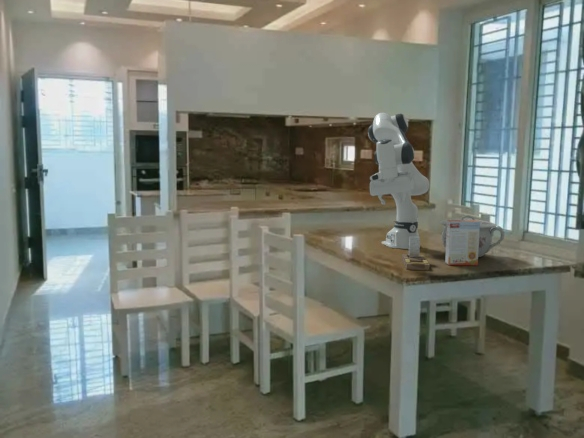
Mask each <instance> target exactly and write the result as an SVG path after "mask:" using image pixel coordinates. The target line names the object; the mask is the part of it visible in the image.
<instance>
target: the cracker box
mask: <svg viewBox="0 0 584 438" xmlns="http://www.w3.org/2000/svg"><path fill="white" fill-rule="evenodd" d="M446 220H447V219H446ZM477 220H478V219H477ZM477 220H447V231H446V248H445V260H444V263H445V264H446V265H448V266H478V265H479V257H478V249H479V229H480V221H477Z"/></svg>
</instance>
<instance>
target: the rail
mask: <svg viewBox="0 0 584 438" xmlns="http://www.w3.org/2000/svg"><path fill="white" fill-rule="evenodd" d="M408 254H409V253H401V261H402V263H403V265H404V267H405V270H408V271H409V270H410V271H411V270H413V271H415V270H416V271H430V267H431V266H430V265H431V264H430V263H429V262H428V260H427V259H426V257H425V255H424V254H420V253H419V258H408Z"/></svg>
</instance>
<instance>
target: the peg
mask: <svg viewBox="0 0 584 438" xmlns="http://www.w3.org/2000/svg"><path fill="white" fill-rule="evenodd" d="M420 247H421V237H420V236H409V249H408V253H407V254H408V258H419V254H420Z"/></svg>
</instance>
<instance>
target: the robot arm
mask: <svg viewBox="0 0 584 438" xmlns="http://www.w3.org/2000/svg"><path fill="white" fill-rule="evenodd" d="M408 129H409V121H408V118H407V117H406V116H405V115H404V114H403V113H397V114H395V115H390V114H389V113H387V112H379V113H377V114H376V115H375V116H374V118H373V121H372V124H370V126H369V127H368V128H367V134H368V135H367V136H368V138H369V140H370V141H371V142H372V143H374V144H376V148H375V149H376V150H375V151H374V152H373V154H374V159H375V160H374V161H375V164H376V165H378V172H376V173H375V174H372V175H370V176H369V180H370V182H369V194H370V196H372V197H375V196H377V198H378V199H379V200H380V202H381V203H380V204H381V205H386V200H385V199H383V198H382V197H383V196H384V195H391V197H393V199H394V202H395V205H396V220H394V221H393V223H394V225H393V228H392V229H390V230H389V231H388V232H387V233H386V235H385V240H383V241H381V245H385V246H386V247H388V248H393V249H404V250H409V236H419V231H418V227H419V221H418V214H419V213H418V212H419V211H418V210H419V207H418V206H417V205H416V203H413V200H412V196H420V195H423V194H426V193H428V191H429V189H430V181H429V178H428V177H426V176H424V175H423V174H422V173H421V172H420V171H419V170H418V168H417V167H416V166H415V165H414V163H413V161H414V159H415V150H414V148H413V147H414V146H413V145H412V144H411V143H410V141H409V139H408V137H406V133H407V132H408ZM419 237H420V236H419Z"/></svg>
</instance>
